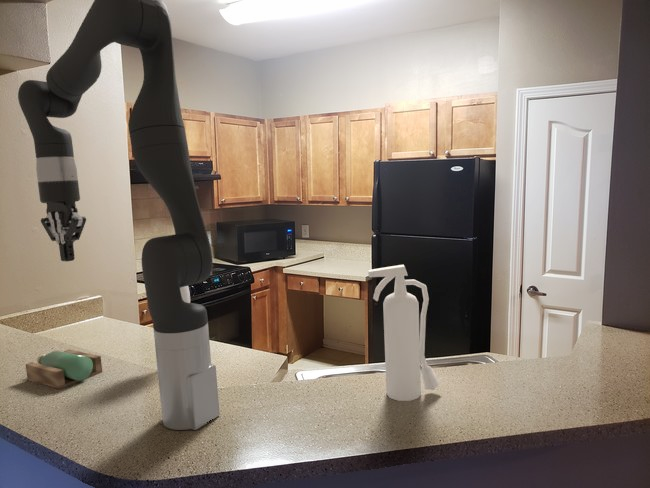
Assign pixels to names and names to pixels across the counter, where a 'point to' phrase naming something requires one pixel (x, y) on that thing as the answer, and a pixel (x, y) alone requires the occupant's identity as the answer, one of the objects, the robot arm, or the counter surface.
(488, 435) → the counter surface
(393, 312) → the fire extinguisher
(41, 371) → the brown wooden u-shaped block
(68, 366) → the bottle
